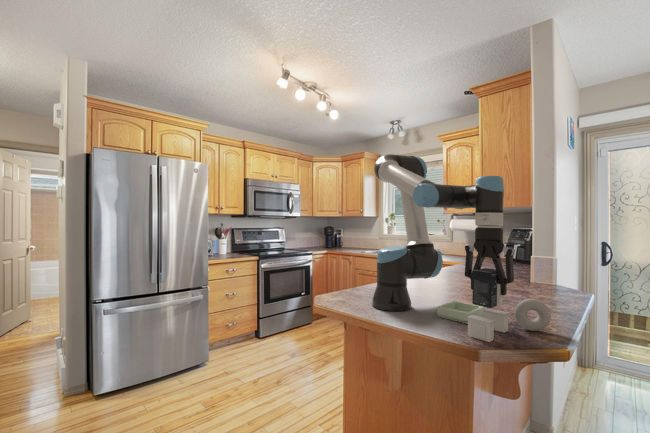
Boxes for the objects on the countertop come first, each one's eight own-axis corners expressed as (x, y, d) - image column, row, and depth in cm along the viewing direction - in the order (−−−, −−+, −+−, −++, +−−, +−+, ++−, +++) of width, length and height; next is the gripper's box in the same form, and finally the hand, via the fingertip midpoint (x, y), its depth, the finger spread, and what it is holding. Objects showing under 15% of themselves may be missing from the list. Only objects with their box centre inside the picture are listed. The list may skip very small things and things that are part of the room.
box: (490, 308, 89) (490, 272, 89) (471, 304, 93) (472, 269, 94) (504, 305, 93) (503, 270, 93) (485, 301, 98) (485, 267, 98)
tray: (437, 316, 109) (437, 306, 109) (454, 310, 118) (454, 300, 118) (468, 324, 101) (468, 313, 101) (484, 316, 109) (484, 306, 110)
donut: (516, 331, 95) (516, 298, 95) (512, 327, 98) (512, 296, 99) (553, 334, 93) (553, 301, 93) (547, 330, 96) (547, 298, 96)
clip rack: (466, 336, 90) (466, 317, 90) (487, 325, 100) (487, 307, 101) (489, 342, 85) (489, 322, 85) (509, 330, 96) (509, 312, 96)
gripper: (452, 226, 98) (451, 298, 98) (520, 228, 84) (519, 313, 84) (463, 226, 103) (462, 295, 103) (528, 228, 89) (527, 308, 89)
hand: (487, 303), depth 93 cm, fingers closed on box, 6 cm apart
